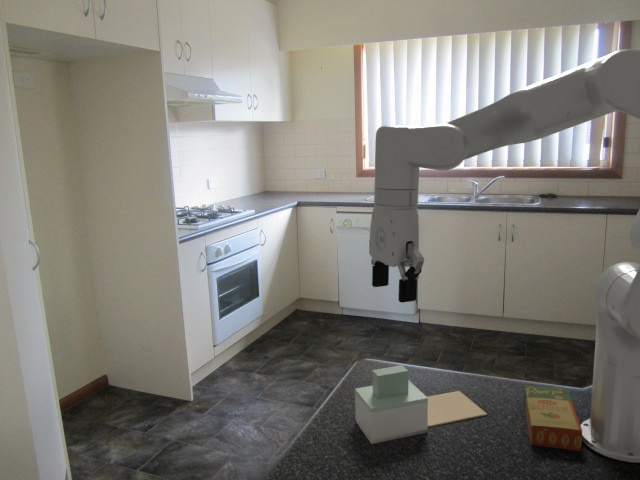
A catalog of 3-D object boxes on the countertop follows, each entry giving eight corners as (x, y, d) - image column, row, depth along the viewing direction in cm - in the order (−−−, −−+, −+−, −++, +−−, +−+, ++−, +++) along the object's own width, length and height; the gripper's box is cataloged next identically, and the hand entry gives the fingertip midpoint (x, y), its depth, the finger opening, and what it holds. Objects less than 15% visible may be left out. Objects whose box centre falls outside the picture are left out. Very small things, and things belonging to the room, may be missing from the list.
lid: (408, 387, 103) (407, 357, 102) (427, 407, 96) (427, 374, 95) (355, 397, 100) (354, 366, 99) (371, 418, 93) (370, 384, 91)
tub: (408, 411, 104) (408, 383, 103) (427, 432, 97) (427, 402, 96) (355, 421, 101) (355, 392, 100) (371, 444, 94) (371, 413, 92)
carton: (529, 446, 92) (530, 424, 91) (522, 402, 107) (522, 382, 106) (582, 452, 90) (583, 429, 89) (567, 406, 105) (568, 386, 104)
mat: (459, 392, 111) (459, 390, 111) (486, 415, 102) (486, 413, 102) (402, 402, 108) (402, 401, 108) (426, 427, 98) (426, 426, 98)
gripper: (354, 193, 98) (353, 283, 101) (402, 205, 82) (399, 310, 86) (390, 192, 101) (388, 279, 104) (443, 203, 85) (438, 305, 88)
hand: (393, 293), depth 95 cm, fingers open, 9 cm apart
